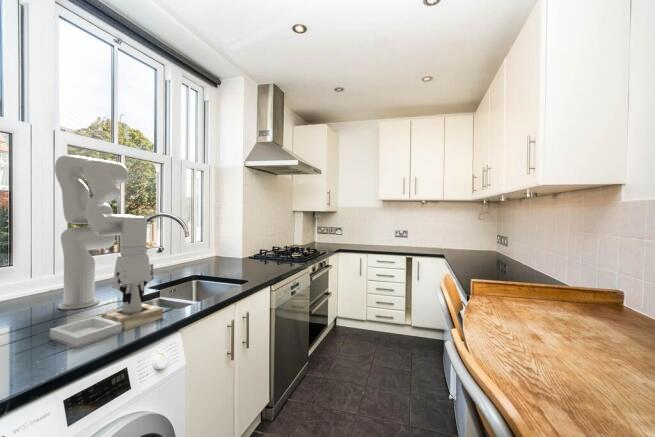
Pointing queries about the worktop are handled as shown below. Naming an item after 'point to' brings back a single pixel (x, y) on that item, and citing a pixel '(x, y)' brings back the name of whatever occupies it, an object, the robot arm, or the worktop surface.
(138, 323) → the birch holder
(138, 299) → the salt shaker
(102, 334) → the grey tray
